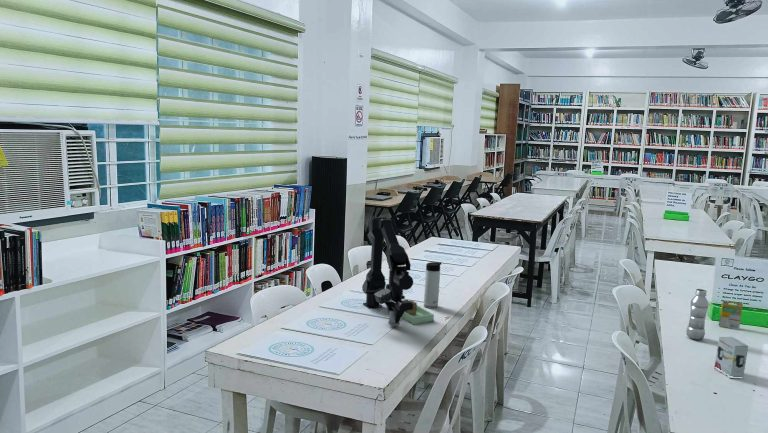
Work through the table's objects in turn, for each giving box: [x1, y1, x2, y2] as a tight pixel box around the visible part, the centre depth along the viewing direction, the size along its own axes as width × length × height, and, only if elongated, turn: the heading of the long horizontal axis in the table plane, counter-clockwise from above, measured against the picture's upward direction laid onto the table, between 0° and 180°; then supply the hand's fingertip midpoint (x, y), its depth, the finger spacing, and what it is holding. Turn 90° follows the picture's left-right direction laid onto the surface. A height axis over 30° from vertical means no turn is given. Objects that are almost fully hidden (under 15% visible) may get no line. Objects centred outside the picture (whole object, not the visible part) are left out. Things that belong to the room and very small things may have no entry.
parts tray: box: [401, 304, 435, 325], centre depth 238 cm, size 14×10×3 cm
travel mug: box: [423, 261, 442, 310], centre depth 252 cm, size 6×7×20 cm
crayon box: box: [718, 300, 744, 331], centre depth 244 cm, size 7×3×12 cm, turn 65°
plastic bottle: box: [686, 288, 710, 341], centre depth 227 cm, size 6×7×20 cm
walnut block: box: [405, 300, 418, 315], centre depth 241 cm, size 4×4×5 cm
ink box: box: [714, 336, 749, 378], centre depth 196 cm, size 9×5×12 cm, turn 5°
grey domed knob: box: [387, 310, 401, 326], centre depth 226 cm, size 5×5×5 cm
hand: (394, 321), depth 226 cm, fingers closed on grey domed knob, 4 cm apart
